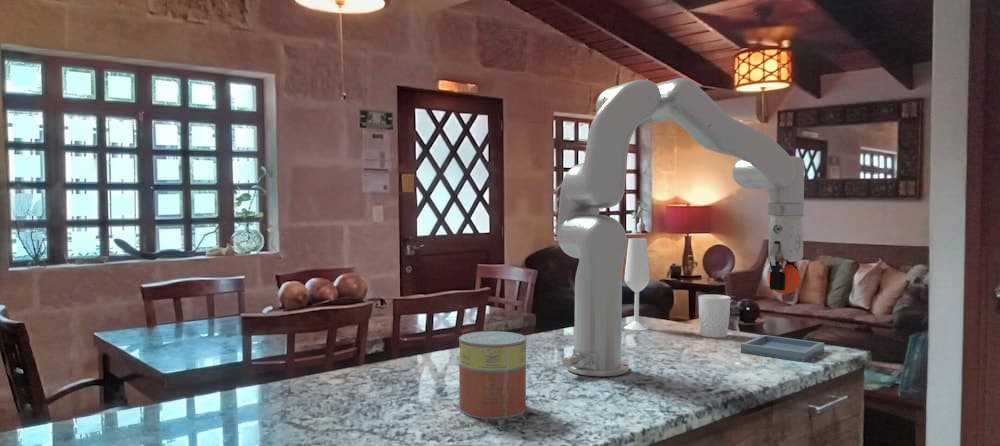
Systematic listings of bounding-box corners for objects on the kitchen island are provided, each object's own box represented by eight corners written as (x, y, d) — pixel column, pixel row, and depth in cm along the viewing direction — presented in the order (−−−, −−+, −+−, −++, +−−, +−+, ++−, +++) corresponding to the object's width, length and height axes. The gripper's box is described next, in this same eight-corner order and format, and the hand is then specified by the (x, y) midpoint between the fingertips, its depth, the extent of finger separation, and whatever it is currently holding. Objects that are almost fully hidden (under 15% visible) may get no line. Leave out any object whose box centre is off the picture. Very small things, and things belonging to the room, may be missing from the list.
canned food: (485, 395, 127) (485, 328, 127) (538, 406, 121) (539, 336, 121) (444, 410, 118) (445, 338, 118) (500, 423, 112) (501, 347, 111)
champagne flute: (625, 324, 196) (626, 237, 195) (650, 326, 194) (651, 238, 193) (622, 329, 190) (623, 239, 189) (647, 330, 188) (648, 239, 187)
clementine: (771, 290, 168) (772, 260, 168) (803, 292, 164) (803, 261, 164) (764, 294, 161) (765, 262, 161) (797, 296, 158) (798, 264, 157)
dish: (804, 362, 153) (804, 353, 153) (740, 352, 163) (740, 343, 162) (824, 351, 164) (824, 342, 164) (763, 343, 173) (763, 334, 173)
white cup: (726, 332, 186) (726, 294, 185) (733, 339, 178) (733, 299, 178) (695, 332, 187) (695, 294, 186) (700, 338, 179) (701, 298, 178)
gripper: (789, 212, 153) (787, 293, 154) (814, 210, 166) (813, 285, 167) (754, 211, 158) (753, 290, 159) (781, 210, 171) (780, 283, 172)
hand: (784, 287), depth 163 cm, fingers closed on clementine, 8 cm apart
